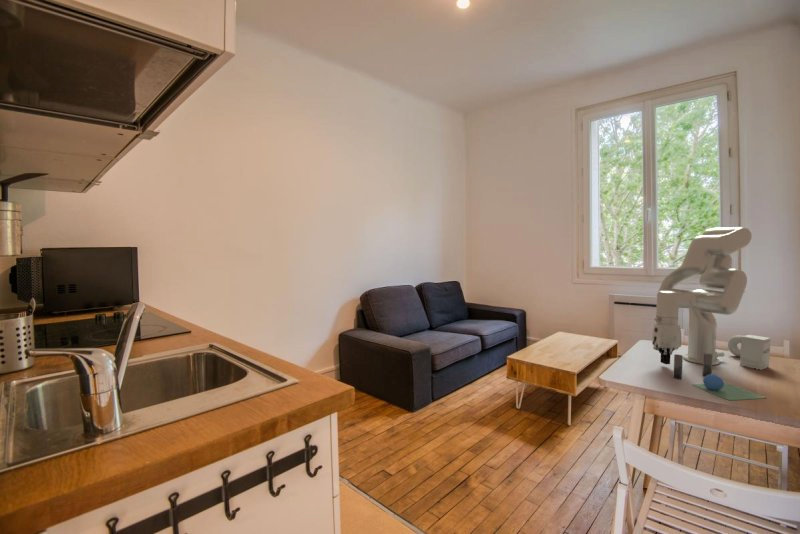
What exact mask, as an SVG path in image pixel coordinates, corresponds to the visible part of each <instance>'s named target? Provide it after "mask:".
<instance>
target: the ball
mask: <svg viewBox="0 0 800 534" xmlns="http://www.w3.org/2000/svg"><path fill="white" fill-rule="evenodd" d="M702 382H703V384H704V385H705V386H706V387H707V388H708V389H710V390H714V391H717V390H720V389H722V388H723V385H724V383H725V382H724V380H723V378H722V377H721V376H719V375H718V374H714V373H711V374H709V375H706V376H705V377H703V381H702Z"/></svg>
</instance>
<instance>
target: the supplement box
mask: <svg viewBox="0 0 800 534" xmlns="http://www.w3.org/2000/svg"><path fill="white" fill-rule="evenodd" d="M741 336H742V337H741V343H740V350H741V354H740V357H739V366H741V365H742V366H743V367H745V366H746V368H749V369H754V368H756V369H755V370H758V369H760V370H759V371H762V370H764V369H768V368H769V367H770V357H771V339H772V338H771V337H767V336H759V335H754V334H747V335H741ZM742 366H741V367H742ZM767 367H768V368H767Z"/></svg>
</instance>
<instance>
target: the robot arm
mask: <svg viewBox="0 0 800 534" xmlns="http://www.w3.org/2000/svg"><path fill="white" fill-rule="evenodd" d="M752 236H753V235H752V232H751V230H750V229H749V228H747V227H744V226H733V227H732V226H731V227H727V226H725V227H712V228H709V229H708V228H707V229H706V230H704V231H703V233H702V235H698V236H696V237H694V238H693V239H692V240H691V242H690V244H689V247H688V249H687V251H686V253H685V256H684V259H683V261H682V263H681V265H680V266H679V267H677V268H675V269H674V270H673V271H671V272H670V273H669V274H668V275H666V277H665V278H664V279H663V280H662V282H661V284H660V286H659V289H658V291H657V293H656V308H655V309H656V312H655V313H656V314H655V315H656V317H655V318H654V320H653V321H654V322H655V323H654V326H653V329H652V337H651V338H652V339H651V340H652V341H651V342H652V346H653V347H652V348H653V350H655V351H658V353H659V354H660V363H662V364H664V365H670V364H671V355H673V352H674V351H676V350H679V348H681V347H682V330H681V325H680V323H679V309H688V336H687V339H688V340H687V342H688V343H687V354H683V355H682V356H683V360H685V361H688V362H691V363H694V364H701V365H703V358H704V353H709V354H712V366H714V365H715V366H716V365H719V364H720V363H721V361H720V359H718V357H722V358H723V357H725V356H726V355H725V352H723V351H716V347H717V328H718V327H717V326H718V323H717V319H716V317H715V315H714V314H718V315H719V314H720V315H725V316H729V315H733V314H734V313H736V312H737V310H738V308H739V306H740V304H741V301H742V298H743V295H744V293H745V290H746V287H747V283H748V276H747V274H746V272H745V271H743V270H742V269H738V268H731V265H732V262H733V258H732V256H731V254H734V253H736V252H738V251H739V250H741V249H743V248H745V247H747V246H748V245H749V244H750V243H751V240H752ZM698 276H699V285H700V286H701V287H703V289H702V288H700V289H699V288H698V289H694V290H686V289H679V288H676V287H677V285H678V284H681V282H683V281H685V280H688V279H691V278H694V277H698ZM704 288H706V289H704Z"/></svg>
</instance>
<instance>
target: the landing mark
mask: <svg viewBox="0 0 800 534" xmlns="http://www.w3.org/2000/svg"><path fill="white" fill-rule="evenodd" d="M692 386H693V387H696V388H699V390H700V389H701V390H703V391H706V392H707V393H711V394H712V395H715V396H717V397H720V398H722V399H724V400H727V401H731V402H733V401H745V400H759V399H761V400H762V399H763V398H764V399H767V397H765V396H763V395H760V394H758V393H755V392H751V391H749V390H747V389H744V388H741V387H739V386H736V385H733V384H732V383H729V382H724V385H723V388H722V389H720V390H717V391H714V390H710V389H708V388H707V387H706V386H705V385H704V383H699V384H698V383H697V384H695V383H694V384H692Z"/></svg>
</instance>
